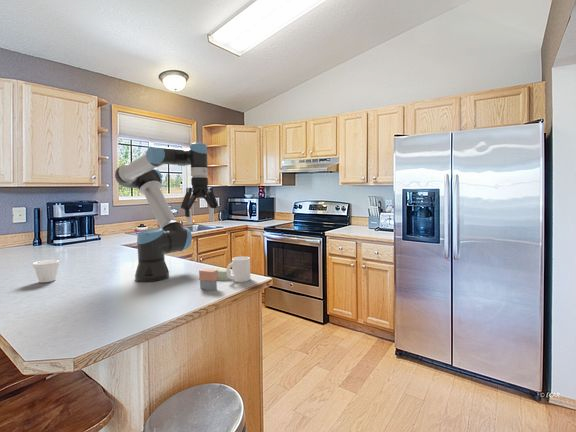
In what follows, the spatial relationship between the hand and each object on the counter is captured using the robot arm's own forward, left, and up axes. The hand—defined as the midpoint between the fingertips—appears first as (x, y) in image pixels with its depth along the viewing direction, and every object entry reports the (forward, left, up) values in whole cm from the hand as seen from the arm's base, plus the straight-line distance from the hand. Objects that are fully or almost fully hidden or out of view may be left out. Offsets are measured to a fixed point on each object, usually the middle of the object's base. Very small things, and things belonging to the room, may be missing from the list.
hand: (201, 222), depth 149 cm
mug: (+17, +6, -27) cm, 32 cm away
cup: (-59, -42, -27) cm, 77 cm away
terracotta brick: (+14, -9, -23) cm, 28 cm away
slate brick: (+14, -9, -27) cm, 32 cm away
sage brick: (+8, +5, -27) cm, 29 cm away
